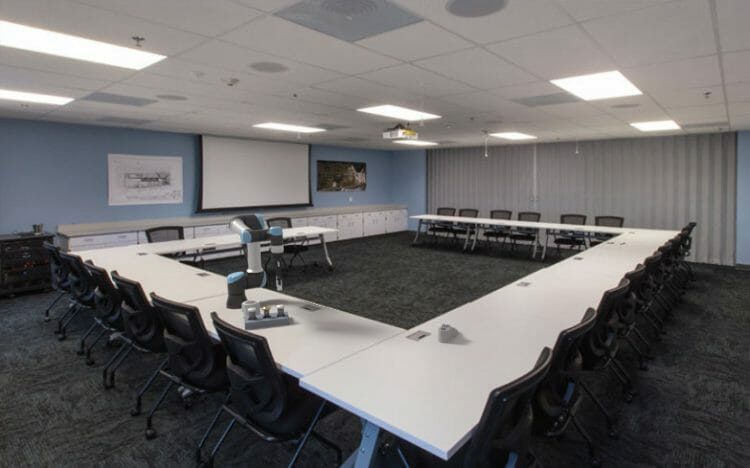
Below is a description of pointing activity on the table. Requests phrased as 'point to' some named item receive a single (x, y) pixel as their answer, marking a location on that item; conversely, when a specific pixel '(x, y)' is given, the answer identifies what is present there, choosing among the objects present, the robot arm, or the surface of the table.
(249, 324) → the panel
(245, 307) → the mug
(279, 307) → the knob
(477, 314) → the table surface
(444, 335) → the grey mounting bracket
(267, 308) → the pot knob
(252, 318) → the knob
